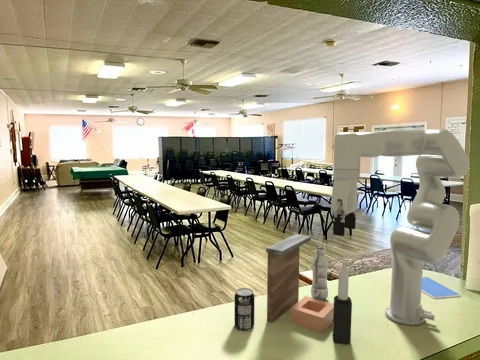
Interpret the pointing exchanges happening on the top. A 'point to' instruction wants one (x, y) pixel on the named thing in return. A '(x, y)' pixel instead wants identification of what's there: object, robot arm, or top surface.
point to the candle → (342, 310)
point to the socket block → (312, 313)
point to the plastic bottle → (319, 275)
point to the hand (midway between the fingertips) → (344, 231)
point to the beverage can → (244, 309)
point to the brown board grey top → (283, 275)
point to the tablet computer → (436, 289)
